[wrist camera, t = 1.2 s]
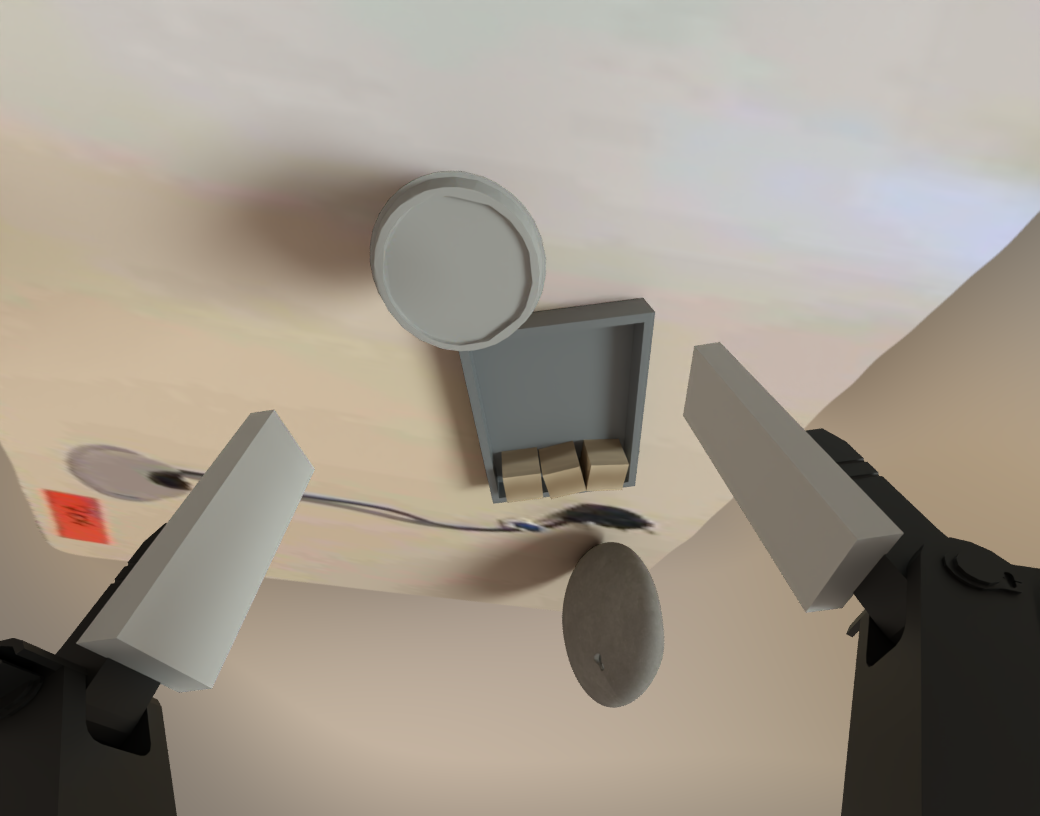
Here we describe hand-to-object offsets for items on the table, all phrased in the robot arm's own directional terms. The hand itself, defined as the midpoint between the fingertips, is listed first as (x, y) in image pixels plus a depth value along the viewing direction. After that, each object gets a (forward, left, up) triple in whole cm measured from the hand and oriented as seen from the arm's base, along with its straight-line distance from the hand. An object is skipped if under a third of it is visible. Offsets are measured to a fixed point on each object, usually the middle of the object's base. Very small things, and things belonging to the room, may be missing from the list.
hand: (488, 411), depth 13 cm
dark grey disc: (+46, +9, -23) cm, 52 cm away
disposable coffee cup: (-1, -1, -23) cm, 23 cm away
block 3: (+25, +9, -22) cm, 34 cm away
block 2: (+25, +5, -22) cm, 33 cm away
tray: (+18, +5, -23) cm, 29 cm away
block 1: (+25, 0, -22) cm, 33 cm away
